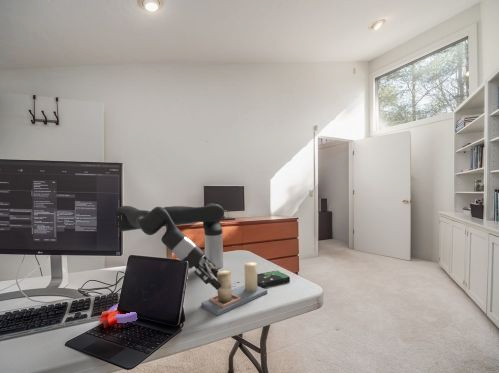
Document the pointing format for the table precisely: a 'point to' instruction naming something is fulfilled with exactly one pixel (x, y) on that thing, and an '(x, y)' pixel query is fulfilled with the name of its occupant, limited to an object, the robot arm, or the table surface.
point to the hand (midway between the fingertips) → (220, 282)
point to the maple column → (224, 286)
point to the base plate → (238, 292)
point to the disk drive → (271, 279)
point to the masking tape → (124, 316)
